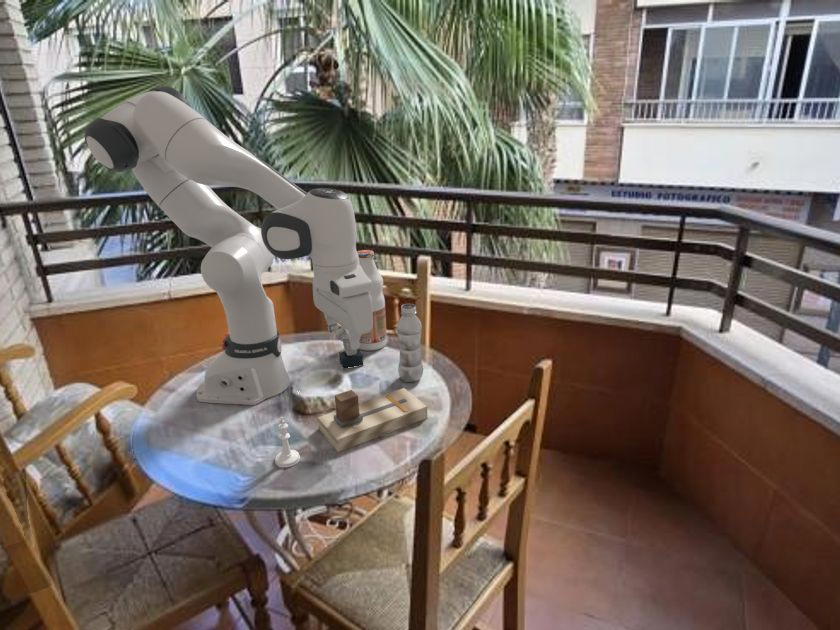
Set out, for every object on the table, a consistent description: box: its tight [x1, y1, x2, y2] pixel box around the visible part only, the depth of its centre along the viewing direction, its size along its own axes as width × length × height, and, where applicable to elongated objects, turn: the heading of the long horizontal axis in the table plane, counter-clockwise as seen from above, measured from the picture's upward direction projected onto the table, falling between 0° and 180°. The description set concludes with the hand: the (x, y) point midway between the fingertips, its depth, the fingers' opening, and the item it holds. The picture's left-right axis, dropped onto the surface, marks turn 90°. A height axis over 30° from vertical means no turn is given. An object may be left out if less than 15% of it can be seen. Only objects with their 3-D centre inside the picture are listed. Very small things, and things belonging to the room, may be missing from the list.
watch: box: [336, 326, 364, 369], centre depth 144 cm, size 6×8×11 cm
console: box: [317, 387, 428, 453], centre depth 119 cm, size 22×10×3 cm, turn 123°
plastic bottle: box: [396, 303, 424, 383], centre depth 134 cm, size 6×7×20 cm
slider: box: [333, 389, 363, 428], centre depth 114 cm, size 5×4×6 cm
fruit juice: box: [357, 249, 388, 352], centre depth 152 cm, size 9×9×28 cm
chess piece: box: [274, 416, 301, 468], centre depth 106 cm, size 5×5×10 cm
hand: (343, 340), depth 108 cm, fingers open, 8 cm apart
